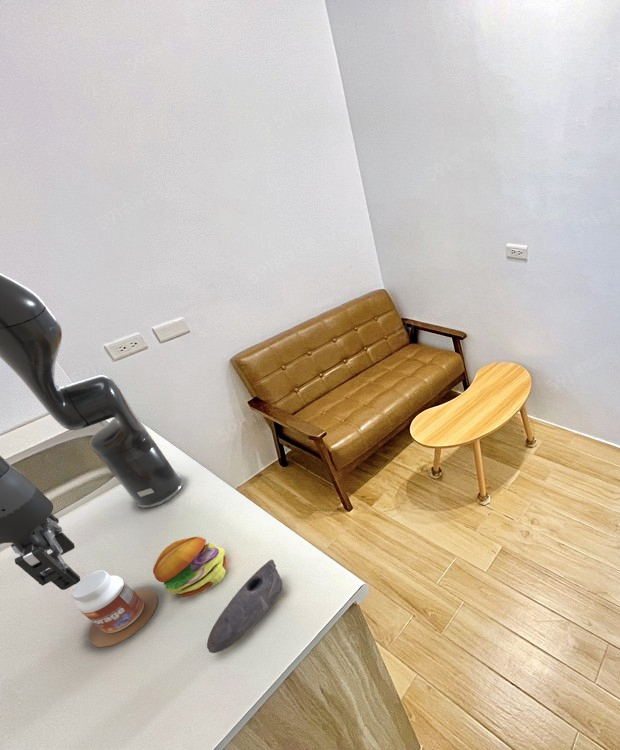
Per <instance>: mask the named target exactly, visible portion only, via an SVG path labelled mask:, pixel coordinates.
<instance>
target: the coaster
mask: <svg viewBox="0 0 620 750" xmlns="http://www.w3.org/2000/svg"><path fill="white" fill-rule="evenodd" d="M133 591H134V592H135V593H136V594H137V595H138V596H139V597H140V598H141V599H142V600H143V602H144V608H143V610H142V613H141V614H140V615H139V617H138V618H137V619H136V620H135V621H134V622H133V623H131V624H130V625H129V626H127V627H126V628H124V629H122V630H120V631H117V632H114V633H106V632H104V631H103V630H101V629H100V628H99V627H98V626H97V625H95V624H94V623H93V622H92V625H91V626H90V629H89V632H88V640H89V643H90V644H91V645H93V646H94V647H96V648H109V647H113V646H116V645H118V644H121V643H122V642H125V641H126V640H128V639H130V638H131V637H132V636H134V635H135V634H137V633H138V632H139V631H140V630H142V628H144V627H145V626H146V624H148V622H149V621H150V620H151V619H152V617H153V616H154V614H155V612H156V610H157V609H158V605H159V595H158V594H157V592H156V591H154V590H152V589H150V588H149V589H148V588H142V589H137V590H133Z"/></svg>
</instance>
